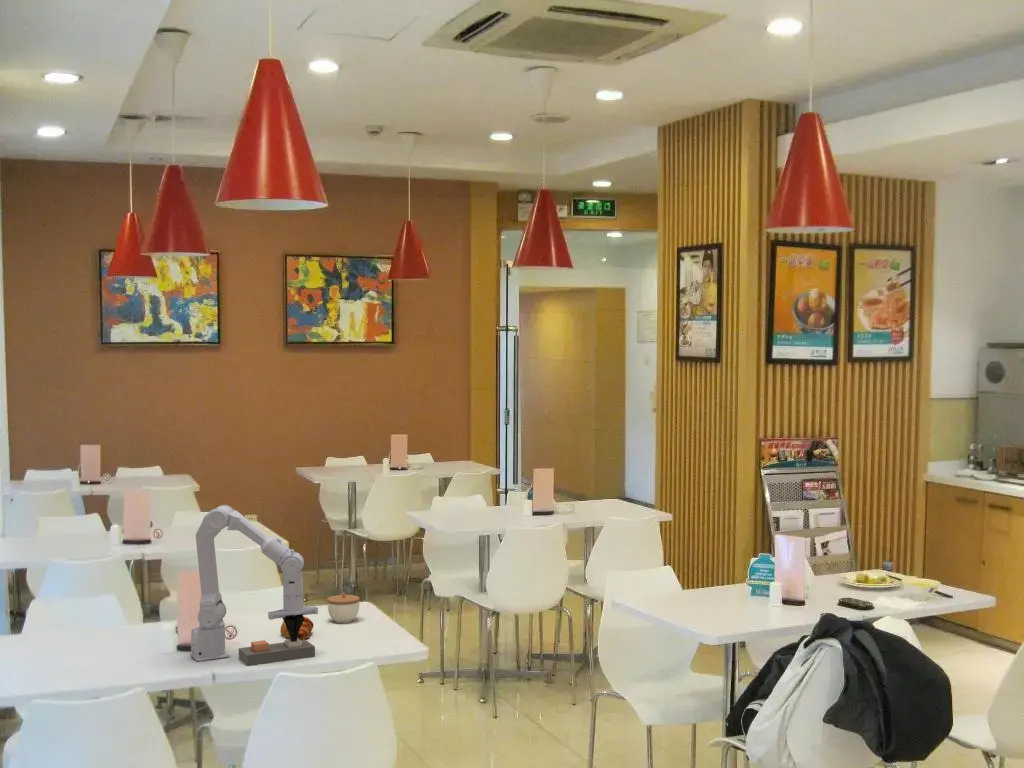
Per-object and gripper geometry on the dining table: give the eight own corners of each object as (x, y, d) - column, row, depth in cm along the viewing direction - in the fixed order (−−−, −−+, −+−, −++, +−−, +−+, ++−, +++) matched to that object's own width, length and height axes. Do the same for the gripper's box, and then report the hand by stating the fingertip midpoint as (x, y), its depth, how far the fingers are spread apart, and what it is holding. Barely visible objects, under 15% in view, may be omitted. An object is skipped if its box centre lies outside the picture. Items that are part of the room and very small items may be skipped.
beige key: (289, 653, 313) (288, 643, 313) (284, 650, 316) (284, 640, 316) (302, 651, 315) (302, 641, 315) (297, 648, 318) (297, 638, 318)
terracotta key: (255, 655, 308) (255, 645, 308) (251, 652, 311) (251, 642, 311) (268, 653, 310) (268, 643, 310) (264, 650, 313) (264, 640, 313)
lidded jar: (325, 618, 361) (325, 591, 361) (356, 616, 365) (356, 588, 364) (329, 625, 351) (329, 597, 351) (362, 623, 354) (362, 595, 354)
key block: (247, 665, 304) (247, 655, 304) (238, 658, 312) (238, 648, 312) (314, 656, 314) (314, 646, 314) (304, 649, 322) (304, 639, 322)
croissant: (283, 638, 349) (271, 618, 347) (310, 621, 352) (298, 601, 351) (293, 653, 329) (280, 631, 328) (322, 635, 332) (309, 613, 331)
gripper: (273, 600, 308) (273, 647, 308) (321, 594, 315) (321, 640, 315) (265, 595, 314) (266, 641, 314) (313, 590, 321) (313, 635, 322)
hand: (293, 640), depth 315 cm, fingers closed, pressing on beige key
